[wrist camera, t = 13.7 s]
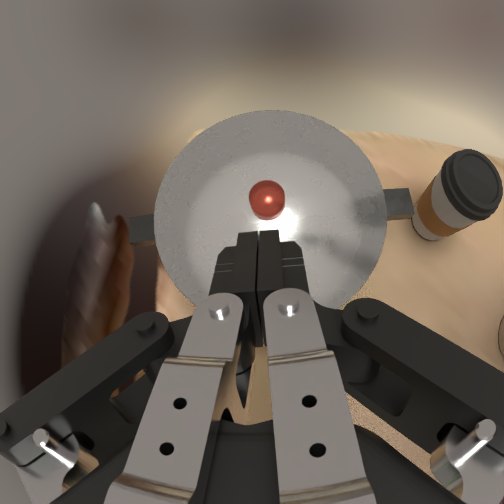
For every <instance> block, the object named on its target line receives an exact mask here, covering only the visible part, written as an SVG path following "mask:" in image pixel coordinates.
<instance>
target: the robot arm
mask: <svg viewBox="0 0 504 504" xmlns="http://www.w3.org/2000/svg"><path fill="white" fill-rule="evenodd" d="M263 336H264V343H265V346H267V351H268V370H269V381H270V392H271V403H272V414H273V420H269V421H265V422H262V423H258V424H253V425H248V411H249V404H250V397H251V390H252V383H253V376H254V369H255V364H254V358H255V347H263ZM499 346H500V350H501V353H502V355H503V356H504V317H503V319H502V322H501V325H500V330H499ZM142 369H143V370H144V372H145V375H143V376H142V377H141V378H140V379H138V380H137V381H136V382H134V383H133V384H132V385H131V386H129V387H128V388H127V389H126V390H124V391H123V392H121V393H120V394H119V395H117V396H116V397H113V398H110V396H111V394H112V393H113V391H115V390H116V389H117V388H118V387H120V386H121V385H122V384H124V383H125V382H126V381H128V380H129V379H130V378H132V377H133V376H134V375H135V374H137V373H138V372H139V371H141V370H142ZM345 391H346V392H347V393H348V394H349V395H351V396H352V397H353V398H355V399H356V400H357V401H358V402H360V403H361V404H362V405H364V406H365V407H366V408H368V409H369V410H370V411H372V412H373V413H374V414H376V415H377V416H378V417H380V418H381V419H382V420H384V421H385V422H386V423H388V424H389V425H390V426H392V427H393V428H394V429H396V430H397V431H399V432H400V433H401V434H403V435H404V436H405V437H407V438H408V439H410V440H411V441H412V442H414V443H415V444H417V445H418V446H419V447H421V448H422V449H424V450H425V451H427V452H428V453H429V454H431V458H430V468H431V471H432V474H433V475H434V477H435V478H436V479H437V480H438V481H439V482H440V483H441V484H442V485H441V484H439V483H438V482H437V481H435V480H434V479H433V478H431V477H430V476H429V475H427V474H426V473H425V472H423V471H422V470H421V469H420V468H418V467H417V466H416V465H414V464H413V463H412V462H411V461H409V460H408V459H407V458H406V457H404V456H403V455H402V454H401V453H399V452H398V451H397V450H396V449H394V448H393V447H392V446H391V445H389V444H388V443H387V442H386V441H385V440H383V439H382V438H381V437H379V436H378V435H377V434H375V433H373V432H372V431H370V430H368V429H366V428H363V427H361V426H358V425H355V424H353V421H352V417H351V413H350V409H349V405H348V401H347V398H346V394H345ZM0 454H1V455H2V456H3V457H5V458H6V459H7V460H9V461H10V462H11V463H12V464H13V465H14V466H15V467H16V469H17V471H18V473H19V476H20V478H21V480H22V482H23V485H24V487H25V489H26V491H27V493H28V495H29V497H30V499H31V501H32V503H33V504H499V503H500V501H501V500H502V498H503V496H504V373H503V372H501V371H500V370H498V369H496V368H495V367H493V366H491V365H490V364H488V363H486V362H485V361H483V360H481V359H480V358H478V357H476V356H475V355H473V354H471V353H470V352H468V351H466V350H464V349H463V348H461V347H459V346H458V345H456V344H454V343H453V342H451V341H449V340H447V339H446V338H444V337H442V336H441V335H439V334H437V333H436V332H434V331H432V330H430V329H429V328H427V327H425V326H423V325H422V324H420V323H418V322H417V321H415V320H413V319H411V318H410V317H408V316H406V315H404V314H403V313H401V312H399V311H397V310H396V309H394V308H392V307H390V306H389V305H387V304H385V303H383V302H381V301H379V300H376V299H372V298H360V299H356V300H353V301H351V302H350V303H348V304H347V305H346V306H345V308H344V309H343V310H339V309H332V308H328V307H324V306H322V305H320V304H318V303H317V302H315V301H314V300H313V298H312V297H311V295H310V293H309V287H308V281H307V276H306V270H305V265H304V259H303V253H302V248H301V247H300V246H299V245H298V244H297V243H296V242H295V241H287V242H280V235H279V229H272V230H261V231H259V233H258V231H250V232H239V233H238V238H237V244H236V246H229V247H225V248H224V249H223V250H222V251H221V252H220V253H219V254H218V257H217V261H216V266H215V270H214V274H213V278H212V282H211V287H210V291H209V295H208V297H206V298H204V299H203V300H201V301H200V302H199V303H198V305H197V306H196V308H195V311H194V314H193V315H192V316H190V317H187V318H184V319H180V320H176V321H173V322H169V321H168V319H167V317H166V316H165V315H164V314H162V313H160V312H145V313H142V314H140V315H138V316H136V317H134V318H133V319H131V320H130V321H128V322H127V323H125V324H124V325H123V326H121V327H120V328H118V329H117V330H115V331H114V332H113V333H111V334H110V335H108V336H107V337H106V338H104V339H103V340H101V341H100V342H98V343H97V344H96V345H94V346H93V347H91V348H90V349H89V350H87V351H86V352H84V353H83V354H82V355H80V356H79V357H77V358H76V359H75V360H73V361H72V362H70V363H69V364H68V365H66V366H65V367H63V368H62V369H61V370H59V371H58V372H56V373H55V374H54V375H52V376H51V377H49V378H48V379H47V380H45V381H44V382H42V383H41V384H40V385H38V386H37V387H36V388H34V389H33V390H31V391H30V392H29V393H27V394H26V395H25V396H23V397H22V398H20V399H19V400H18V401H16V402H15V403H14V404H12V405H11V406H10V407H8V408H7V409H6V410H4V411H3V412H1V413H0ZM99 464H100V465H99Z"/></svg>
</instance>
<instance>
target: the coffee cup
mask: <svg viewBox="0 0 504 504" xmlns="http://www.w3.org/2000/svg"><path fill="white" fill-rule="evenodd" d="M502 195H503V187H502V181H501V178H500V176H499V173H498V171H497V170H496V168H495V166H494V165H493V164H492V162H491V161H490V160H489V159H488V158H487V157H486V156H484V155H483V154H481V153H480V152H478V151H475V150H472V149H464V150H462V151H458V152H455V153H453V154H452V155H451V156H450V157H449V158H447V159H446V160H445V162H444V164H443V166H442V169H441V170H440V172H439V173H438V174H437V176H435V177H434V179H433V180H432V182H431V183H430V184H429V186H428V187H427V189H426V190H425V191H424V193H423V194H422V195H421V197H420V199H419V200H418V202H417V203H416V204H415V206H414V208H413V209H414V213H415V214H414V215H413V216H412V222H413V226H414V228H415V230H416V231H417V232H418V234H419V235H421V236H422V237H423V238H425V239H428V240H432V241H435V240H439V239H441V238H443V237H445V236H449V235H451V234H453V233H455V232H458V231H460V230H462V229H464V228H466V227H468V226H470V225H471V224H473V223H475V222H477V221H481V220H485V219H487V218H488V217H490V215H491V214H493V213H494V212H495V211H496V209H497V208H498V205H499V203H500V202H501V199H502Z"/></svg>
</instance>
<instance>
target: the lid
mask: <svg viewBox="0 0 504 504" xmlns="http://www.w3.org/2000/svg"><path fill="white" fill-rule="evenodd" d="M386 227H387V209H386V202H385V196H384V192H383V189H382V186H381V183H380V180H379V178H378V176H377V173H376V171H375V169H374V167H373V166H372V164H371V163H370V161H369V160H368V158H367V156H366V155H365V154H364V153H363V152H362V150H361V149H360V148H359V147H358V146H357V145H356V144H355V143H354V142H353V141H352V140H351V139H350V138H349V137H348V136H346V135H345V134H343V133H342V132H341V131H339V130H338V129H336V128H335V127H333V126H331V125H329V124H327V123H326V122H324V121H321V120H319V119H316V118H314V117H311V116H308V115H304V114H300V113H296V112H289V111H279V110H277V111H276V110H266V111H255V112H249V113H244V114H240V115H237V116H234V117H231V118H228V119H226V120H223V121H221V122H219V123H217V124H215V125H213V126H211V127H210V128H208V129H206V130H205V131H203V132H202V133H200V134H199V135H198V136H196V137H195V138H194V139H193V140H192V141H191V142H190V143H188V144H187V145H186V146H185V147H184V149H183V150H182V151H181V152H180V153H179V154H178V155H177V157H176V158H175V160H174V161H173V162H172V164H171V165H170V167H169V169H168V171H167V173H166V174H165V176H164V178H163V181H162V184H161V186H160V189H159V192H158V195H157V199H156V204H155V212H154V234H155V239H156V245H157V249H158V252H159V255H160V258H161V261H162V263H163V265H164V267H165V269H166V271H167V273H168V275H169V277H170V278H171V280H172V281H173V282H174V284H175V285H176V287H177V288H178V289H179V290H180V291H181V292H182V293H183V294H184V296H185V297H186V298H187V299H188V300H190V301H191V302H192V303H193V304H195V305H196V306H197V305H198V303H199V302H200V301H201V300H203V299H204V298H206V297H208V295H209V291H210V287H211V282H212V278H213V274H214V270H215V266H216V261H217V257H218V254H219V253H220V252H221V251H222V250H223V249H224V248H225V247H229V246H236V244H237V238H238V233H239V232H250V231H258V233H259V231H261V230H272V229H279V235H280V242H287V241H295V242H296V243H297V244H298V245H299V246H300V247H301V248H302V253H303V259H304V265H305V270H306V276H307V281H308V287H309V293H310V295H311V297H312V298H313V300H314V301H315V302H317V303H318V304H320V305H322V306H324V307H328V308H332V309H338V308H339V307H341V306H342V305H344V304H345V303H346V302H347V301H348V300H349V299H350V298H352V297H353V296H354V295H355V294H356V293H357V292H358V290H359V289H360V288H361V287H362V286H363V285H364V283H365V282H366V281H367V279H368V278H369V276H370V274H371V273H372V271H373V270H374V268H375V266H376V264H377V261H378V259H379V257H380V254H381V251H382V248H383V244H384V241H385V235H386ZM263 338H264V336H263Z"/></svg>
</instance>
